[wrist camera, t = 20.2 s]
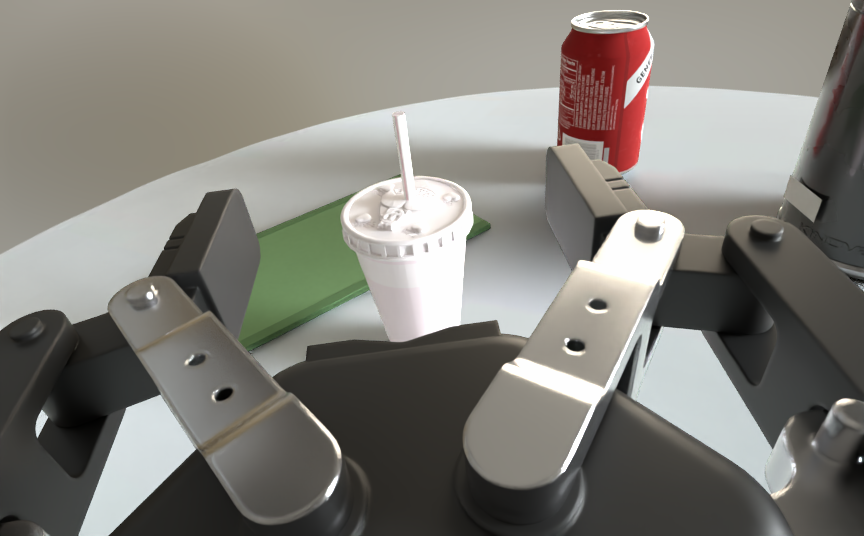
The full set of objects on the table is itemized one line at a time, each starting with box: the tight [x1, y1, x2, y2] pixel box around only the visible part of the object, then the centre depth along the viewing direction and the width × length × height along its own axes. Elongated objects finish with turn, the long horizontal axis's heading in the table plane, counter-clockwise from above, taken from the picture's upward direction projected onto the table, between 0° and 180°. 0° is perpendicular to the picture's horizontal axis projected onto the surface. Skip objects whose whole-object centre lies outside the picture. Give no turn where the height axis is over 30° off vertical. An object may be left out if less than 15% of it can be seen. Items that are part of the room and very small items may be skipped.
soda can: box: [557, 10, 654, 175], centre depth 43 cm, size 7×7×12 cm
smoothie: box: [340, 111, 473, 342], centre depth 27 cm, size 6×6×14 cm
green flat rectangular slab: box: [238, 174, 490, 351], centre depth 40 cm, size 22×12×1 cm, turn 126°
